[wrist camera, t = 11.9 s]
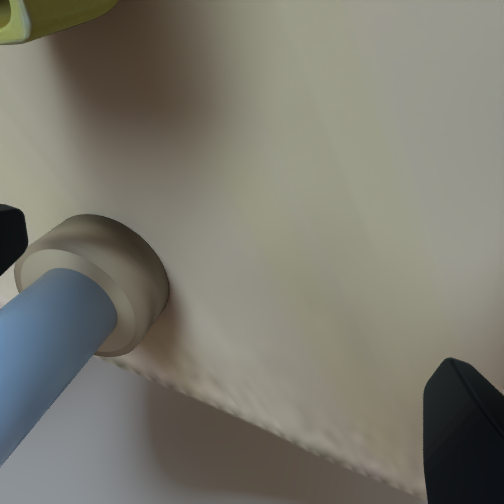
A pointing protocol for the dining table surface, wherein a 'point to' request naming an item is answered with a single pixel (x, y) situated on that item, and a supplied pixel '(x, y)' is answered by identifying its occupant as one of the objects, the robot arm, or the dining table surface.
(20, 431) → the vase
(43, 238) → the grey-beige round disc
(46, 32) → the flower pot
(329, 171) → the dining table surface
